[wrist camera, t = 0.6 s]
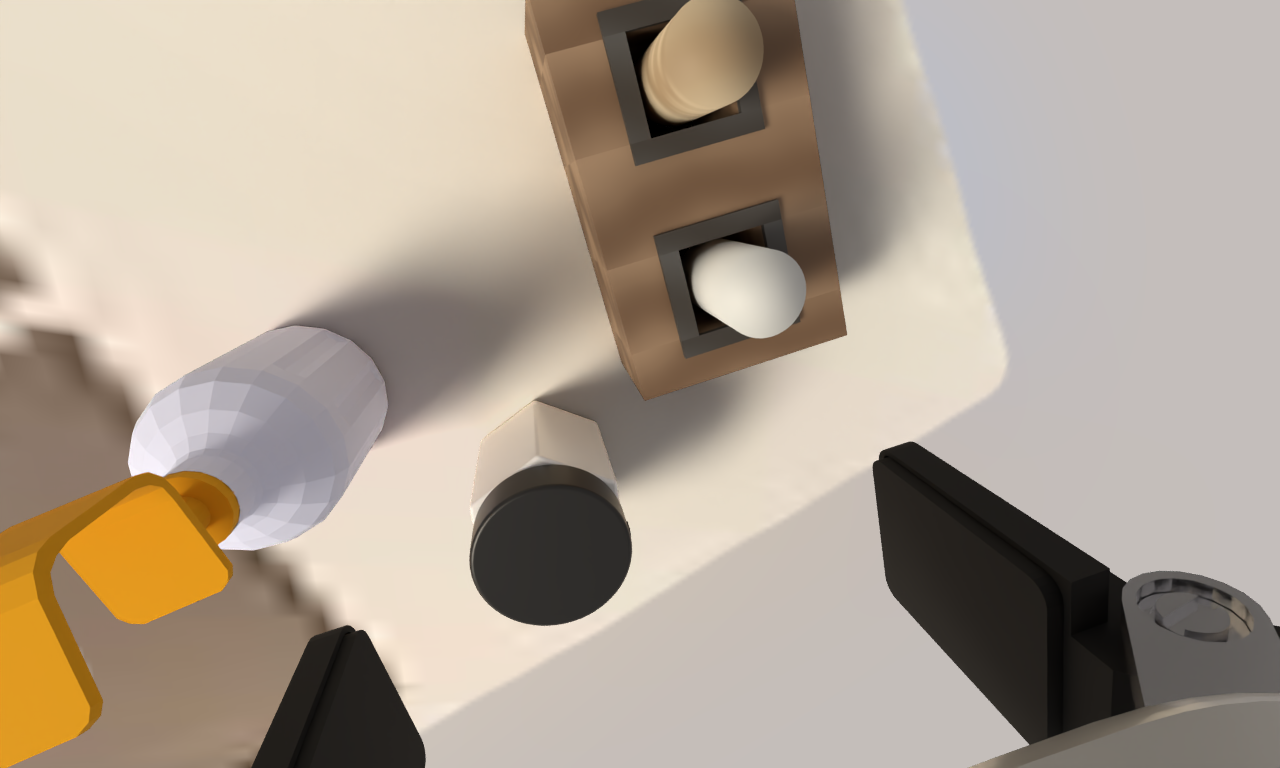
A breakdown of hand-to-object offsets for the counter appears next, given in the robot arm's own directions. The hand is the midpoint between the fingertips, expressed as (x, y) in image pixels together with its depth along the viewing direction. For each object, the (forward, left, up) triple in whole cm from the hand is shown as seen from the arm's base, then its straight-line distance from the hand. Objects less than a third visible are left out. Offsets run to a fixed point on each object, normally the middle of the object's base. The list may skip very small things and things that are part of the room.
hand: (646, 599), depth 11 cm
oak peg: (-10, +9, -25) cm, 28 cm away
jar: (+10, -4, -30) cm, 32 cm away
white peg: (0, +9, -25) cm, 26 cm away
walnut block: (-5, +9, -30) cm, 31 cm away
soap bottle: (+1, -16, -30) cm, 34 cm away
